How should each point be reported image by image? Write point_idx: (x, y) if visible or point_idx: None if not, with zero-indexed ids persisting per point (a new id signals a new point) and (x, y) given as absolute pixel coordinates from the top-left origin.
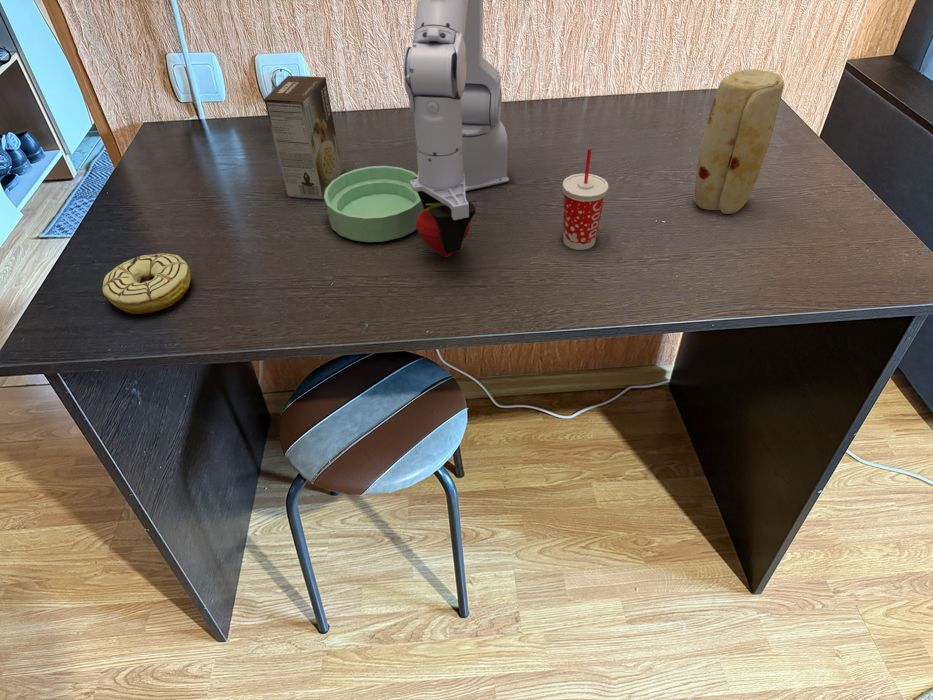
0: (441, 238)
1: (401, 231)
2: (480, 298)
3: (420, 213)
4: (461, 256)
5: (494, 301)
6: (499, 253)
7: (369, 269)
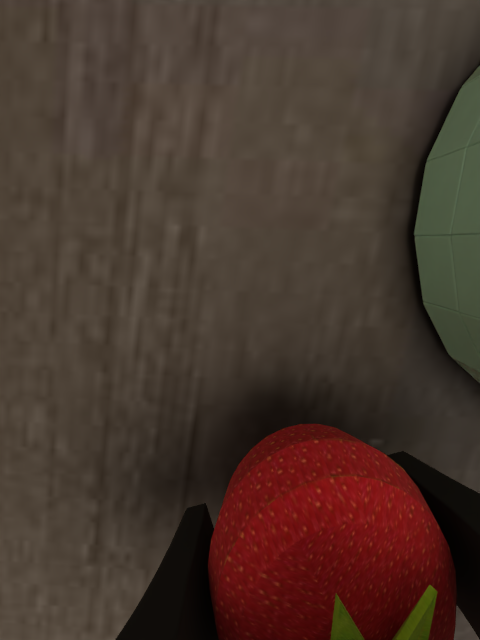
0: (180, 560)
1: (441, 315)
2: (32, 542)
3: (383, 510)
4: None
5: (15, 579)
6: None
7: (246, 165)
